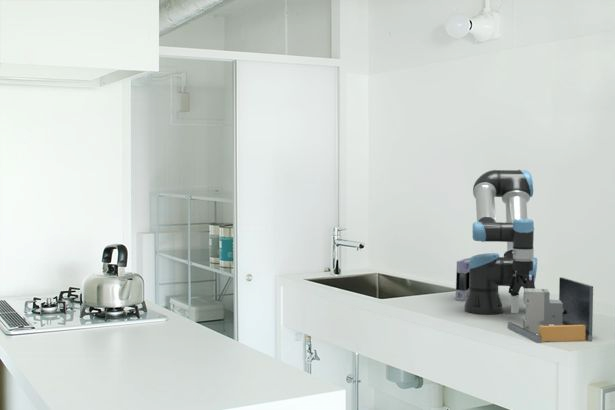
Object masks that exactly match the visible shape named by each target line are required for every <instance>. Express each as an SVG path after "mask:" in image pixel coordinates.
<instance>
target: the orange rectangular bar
mask: <svg viewBox="0 0 615 410" xmlns="http://www.w3.org/2000/svg"><path fill="white" fill-rule="evenodd" d="M585 327H586V326H585V325H555V326H554V325H549V326H539V336H541V343H546V342H545V341H558V342H580V341H581V342H584V341H586V340H585Z"/></svg>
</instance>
